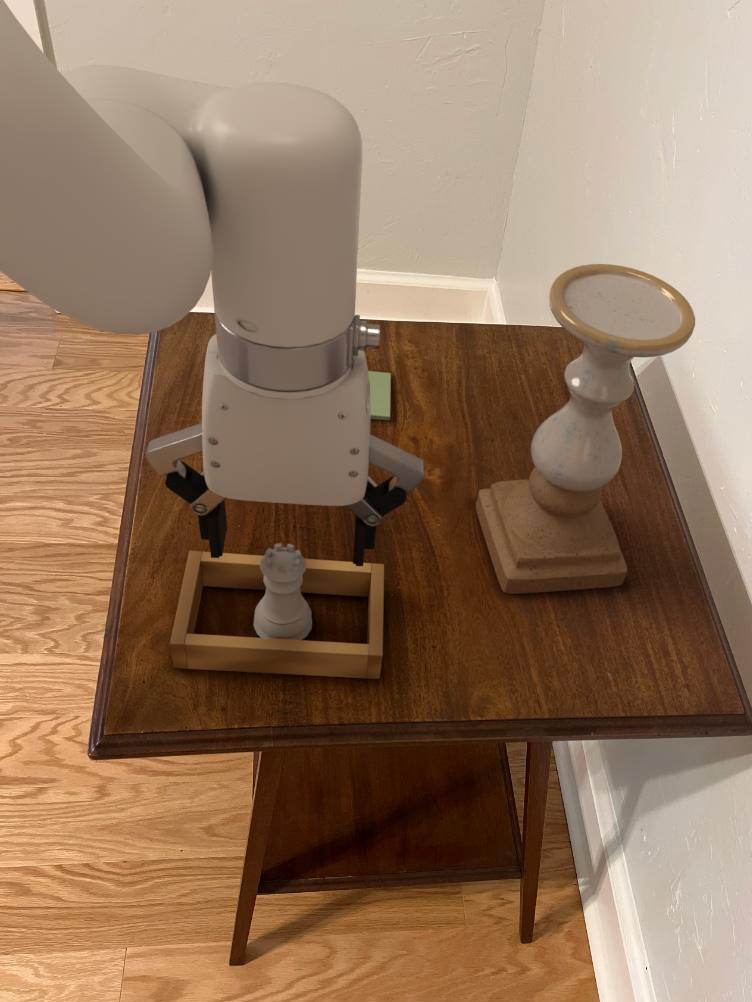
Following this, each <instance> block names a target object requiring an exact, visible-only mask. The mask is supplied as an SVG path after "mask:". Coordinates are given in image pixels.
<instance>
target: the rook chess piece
mask: <svg viewBox="0 0 752 1002" xmlns="http://www.w3.org/2000/svg"><path fill="white" fill-rule="evenodd" d="M282 546H283V545H282V542H279V543H274V545H273V549H272V548H270V547H268V548H267V550H266V551H265V554H264V555H262V556H263V558H262V559H261V561H260V569H261V571H262V573H263V574H264V580H263V581H264V583H265V586H266V590H265V593H264V596H263V597H262V598H261V599H260V601H259V602H258V603H257V604H256V607H255V609H254V617H253V628H254V631H255V633H256V635H258V636H259V638H271V639H288V640H305V638H307V637H308V635H309V633H310V632H311V630H312V628H313V618H312V616H313V615H312V609H311V607H310V606H309V602H308V601H307V600H306V599H305V598H304V596H303V595H302V592H301V591H300V586H301V584H302V581H303V577H302V575H303V573H304V572H305V570H306V561H305V559H306V558H305V557H304V556H303V555H302V553H301V551H300V549H296V550H295V545H294V544H291V543H287V545H286V547H282Z"/></svg>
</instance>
